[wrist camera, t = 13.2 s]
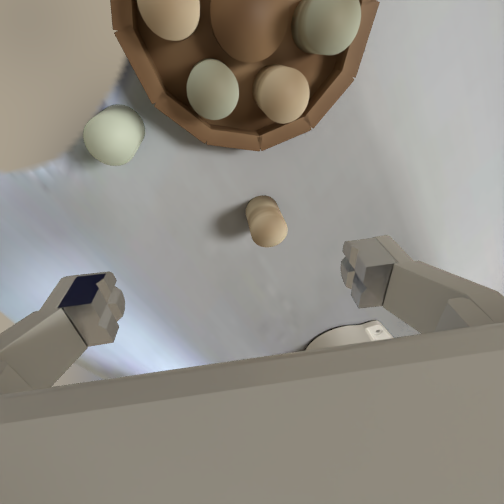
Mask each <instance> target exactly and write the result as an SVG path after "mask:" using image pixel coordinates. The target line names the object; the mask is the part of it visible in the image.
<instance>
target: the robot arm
mask: <svg viewBox="0 0 504 504" xmlns="http://www.w3.org/2000/svg"><path fill="white" fill-rule="evenodd" d="M343 253H344V255H345V257H344V259H343V260H342V261H341V276H342V279H343V282H344V284H345V286H346V287H348V288H350V289H352V290H351V296H352V298H353V300H354V302H355V303H356V305H357V307H358V308H367V307H376V306H383V307H384V308H385V309H386V310H388V311H389V312H391V313H392V314H394V315H395V316H397V317H398V318H400V319H401V320H402V321H404V322H405V323H407V324H408V325H410V326H411V327H413V328H414V329H416V330H417V331H418V332H420V333H421V334H417V335H410V336H404V337H397V338H393V336H392V335H391V334H390V333H389V332H388V331H387V330H386V329H385V327H384V326H383V325H382V324H381V323H380V322H379V321H371V322H368V323H365V324H362V325H351V326H344V327H339V328H336V329H333V330H330V331H328V332H326V333H324V334H322V335H320V336H319V337H317V338H316V339H315V340H313V341H312V342H311V343H310V344H309V346H308V347H307V348H306V350H305V351H299V352H292V353H285V354H278V355H271V356H264V357H257V358H250V359H243V360H236V361H229V362H222V363H215V364H208V365H202V366H195V367H188V368H181V369H174V370H167V371H160V372H153V373H146V374H139V375H132V376H125V377H118V378H111V379H104V380H97V381H91V382H83V383H76V384H69V385H62V386H56V387H51V386H52V385H53V384H54V383H55V382H56V381H57V380H58V379H59V378H60V377H61V376H62V375H63V374H64V373H65V372H66V370H67V369H68V368H69V367H70V366H71V365H72V364H73V363H74V362H75V361H76V360H77V359H78V358H79V357H80V356H81V355H82V353H83V352H84V351H85V350H86V349H87V348H88V347H89V346H95V345H101V344H107V343H113V342H114V340H115V337H116V334H117V331H118V328H119V325H118V323H117V321H118V320H119V319H120V318H121V317H123V314H124V311H125V299H124V295H123V293H122V291H121V290H120V289H118V288H117V287H115V283H116V281H117V280H116V278H115V276H114V274H113V273H111V272H100V273H91V274H82V275H73V276H66V277H63V278H61V280H60V281H59V283H58V284H57V285H56V287H55V288H54V290H53V291H52V293H51V294H50V296H49V297H48V299H47V300H46V301H45V303H44V304H43V306H42V307H41V309H40V310H39V311H35V312H33V313H31V314H30V315H28V316H27V317H25V318H24V319H22V320H21V321H19V322H18V323H16V324H15V325H13V326H12V327H10V328H8V329H7V330H6V331H4V332H2V333H1V334H0V504H504V296H502V295H501V294H500V293H499V292H498V291H495V290H492V289H490V288H487V287H485V286H482V285H480V284H477V283H475V282H472V281H469V280H467V279H464V278H462V277H459V276H457V275H454V274H451V273H449V272H446V271H444V270H441V269H439V268H436V267H433V266H431V265H428V264H426V263H423V262H421V261H413V260H412V259H411V258H410V256H409V255H408V254H407V253H406V252H405V251H404V250H403V249H402V248H401V247H400V246H399V245H398V244H397V243H396V242H395V241H394V240H393V239H392V238H391V237H390V236H388V235H384V236H378V237H373V238H367V239H360V240H353V241H345V243H344V245H343Z"/></svg>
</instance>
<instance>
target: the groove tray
mask: <svg viewBox="0 0 504 504" xmlns="http://www.w3.org/2000/svg"><path fill="white" fill-rule="evenodd" d="M110 2H111V13H112V24H113V30H118V31H117V32H115V33H114V34H115V36H116V37H117V39H118V41H119V43H120V45H121V47H122V49H123V51H124V52H125V54H126V56H127V58H128V60H129V62H130V64H131V66H132V67H133V69H134V71H135V73H136V75H137V77H138V79H139V80H140V82H141V84H142V86H143V88H144V90H145V92H146V93H147V95H148V97H149V99H150V101H151V103H152V104H154V103H156V104H155V106H154V107H156V108H157V109H158V110H160V111H161V112H162V113H164V114H165V115H166V116H168V117H169V118H171V119H172V120H173V121H175V122H176V123H177V124H179V125H180V126H181V127H183V128H184V129H185V130H187V131H188V132H189V133H191V134H192V135H193V136H195V137H196V138H197V139H199V140H200V141H202V142H203V143H204V144H205V143H206V142H207V145H214V146H221V147H229V148H237V149H245V150H253V151H260V149H261V151H263V150H265V149H268V148H270V147H272V146H275V145H277V144H280V143H282V142H284V141H287V140H289V139H291V138H294V137H296V136H298V135H301V134H303V133H305V132H308V131H310V130H311V127H312V128H314V127H315V126H316V125H317V124H318V122H319V121H320V120H321V119H322V118H323V116H324V115H325V114H326V113H327V112H328V110H329V109H330V108H331V107H332V106H333V105H334V103H335V102H336V101H337V100H338V99H339V97H340V96H341V95H342V94H343V93H344V92H345V90H346V89H347V88H348V87H349V86H350V84H351V83H352V82H353V81H354V79H353V78H352V77H356V75H357V72H358V69H359V65H360V62H361V59H362V56H363V53H364V50H365V47H366V43H367V40H368V37H369V34H370V31H371V28H372V25H373V21H374V18H375V15H376V12H377V9H378V6H379V3H380V2H378V1H376V0H110Z"/></svg>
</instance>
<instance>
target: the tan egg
mask: <svg viewBox="0 0 504 504" xmlns="http://www.w3.org/2000/svg"><path fill="white" fill-rule="evenodd" d="M246 217H247V221H248V225H249V228H250V232H251V236H252V239H253V241H254V242H255V243H256V244H257V245H259V246H262V247H273V246H276V245H278V244H279V243H281V242H282V241H283V240H284V238H285V237H286V235H287V230H288V229H287V225H286V222H285V220H284V218H283V216H282V214H281V212H280V210H279V208H278V206H277V203H276V202H275V200H274V199H272V198H271V197H269V196H257V197H255V198H253V199H252V200H251V201H250V202H249V203H248V204H247V207H246Z"/></svg>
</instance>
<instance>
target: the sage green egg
mask: <svg viewBox="0 0 504 504" xmlns="http://www.w3.org/2000/svg"><path fill="white" fill-rule="evenodd" d="M144 136H145V127H144V123H143V121H142V119H141V117H140V116H139V115H138V114H137V113H136V112H135V111H134V110H133V109H131V108H130V107H128V106H125V105H120V104H116V105H111V106H109V107H107V108H106V109H105V110H103V111H102V112H100V113H99V114H97V115H96V116H95V117H93V118H92V119H90V120H89V121H88V122H87V124H86V125H85V127H84V131H83V139H84V143H85V146H86V148H87V149H88V151H89V152H90V153H91V155H92V156H93V157H95V158H96V159H97V160H99V161H100V162H102V163H104V164H107V165H112V166H120V165H123V164H126V163H128V162H129V161H130V160H131V159H132V158H133V156H134V154H135V153H136V151H137V149H138V148H139V146H140V144H141V142H142V141H143V139H144Z"/></svg>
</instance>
